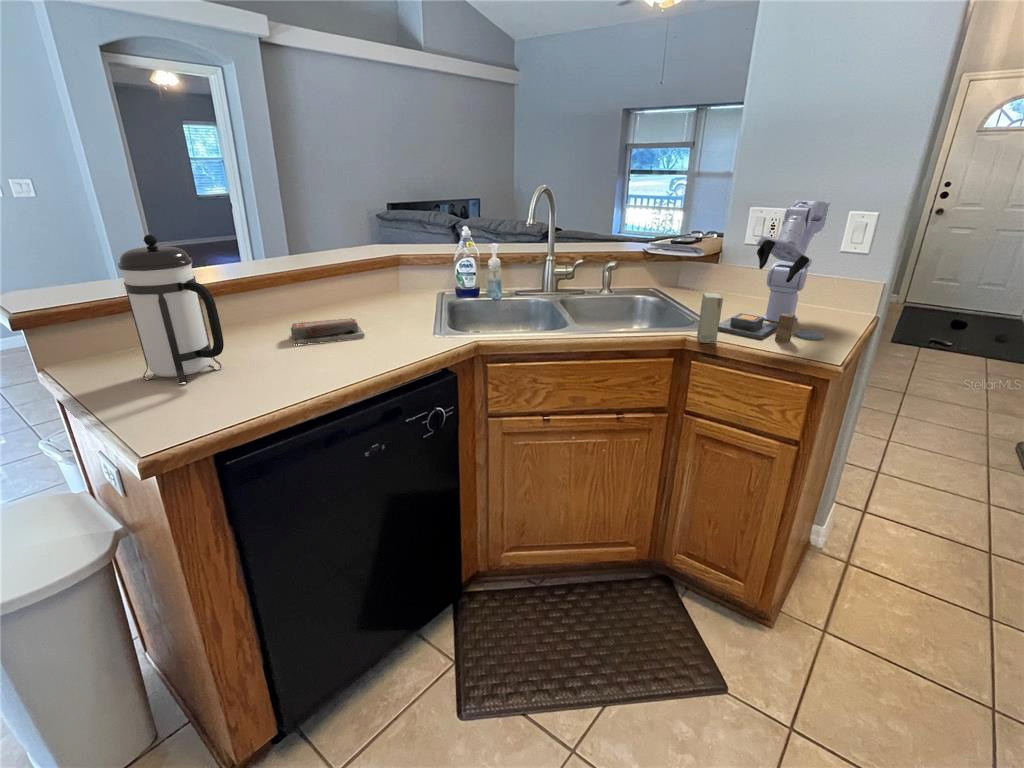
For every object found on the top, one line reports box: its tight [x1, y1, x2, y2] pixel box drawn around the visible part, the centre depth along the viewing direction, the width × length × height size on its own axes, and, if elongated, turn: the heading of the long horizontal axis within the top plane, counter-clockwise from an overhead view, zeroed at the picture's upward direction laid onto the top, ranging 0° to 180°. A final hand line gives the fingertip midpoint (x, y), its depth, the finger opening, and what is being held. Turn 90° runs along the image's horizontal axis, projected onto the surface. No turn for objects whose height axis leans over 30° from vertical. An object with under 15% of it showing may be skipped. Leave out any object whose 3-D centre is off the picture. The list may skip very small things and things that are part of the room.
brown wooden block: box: [774, 313, 797, 344], centre depth 141 cm, size 3×3×7 cm
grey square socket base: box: [718, 312, 778, 341], centre depth 151 cm, size 13×13×4 cm
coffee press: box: [117, 234, 225, 384], centre depth 111 cm, size 17×16×30 cm
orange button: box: [737, 314, 760, 321], centre depth 150 cm, size 4×4×1 cm
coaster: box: [794, 329, 824, 341], centre depth 146 cm, size 7×7×1 cm
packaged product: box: [290, 317, 365, 345], centre depth 142 cm, size 18×5×10 cm
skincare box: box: [696, 292, 724, 344], centre depth 140 cm, size 6×4×12 cm
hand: (775, 273), depth 138 cm, fingers open, 7 cm apart
